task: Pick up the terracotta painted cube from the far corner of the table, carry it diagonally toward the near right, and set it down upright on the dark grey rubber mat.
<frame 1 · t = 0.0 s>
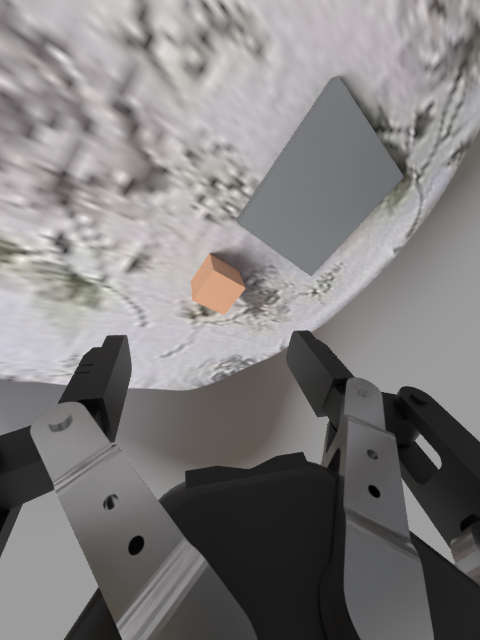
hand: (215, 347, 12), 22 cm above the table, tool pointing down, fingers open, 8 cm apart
mat: (316, 197, 30), on the table
cube: (214, 275, 34), on the table
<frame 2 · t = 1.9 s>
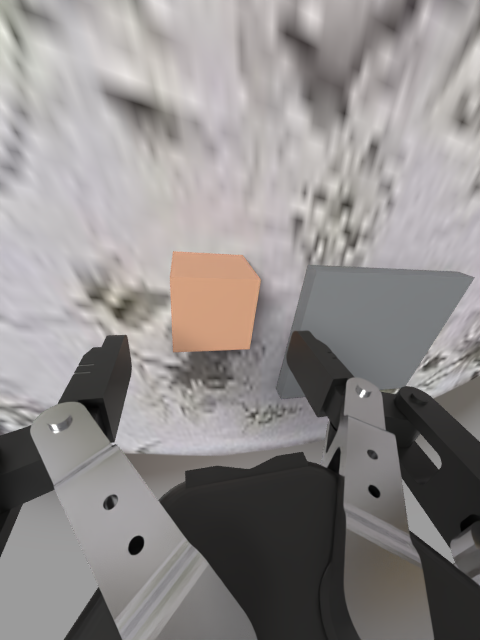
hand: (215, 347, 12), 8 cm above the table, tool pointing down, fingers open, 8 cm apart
mat: (361, 334, 24), on the table
cube: (207, 285, 18), on the table
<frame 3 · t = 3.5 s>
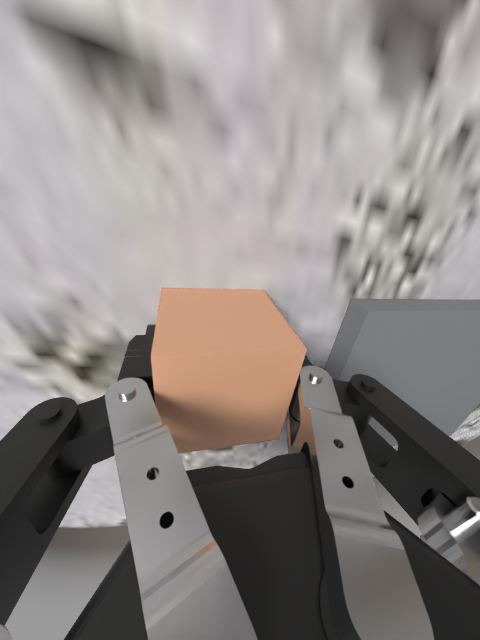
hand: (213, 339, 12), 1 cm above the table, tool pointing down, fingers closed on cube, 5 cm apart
mat: (406, 378, 19), on the table
cube: (212, 331, 13), on the table, touching gripper
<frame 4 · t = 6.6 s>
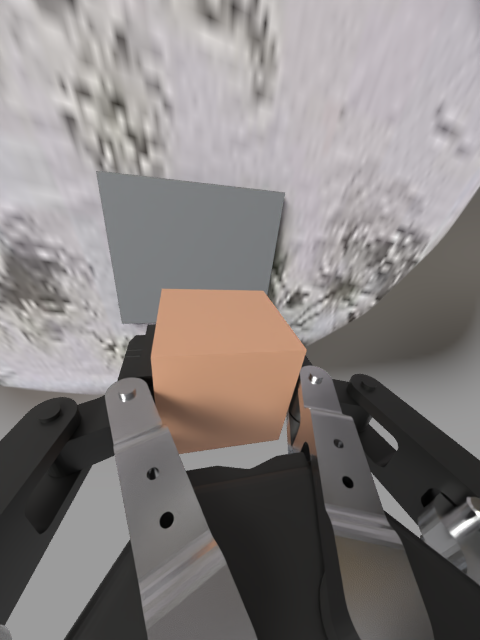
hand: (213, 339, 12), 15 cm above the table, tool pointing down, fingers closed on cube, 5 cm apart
mat: (197, 258, 25), on the table
cube: (212, 332, 13), point 15 cm above the table, touching gripper
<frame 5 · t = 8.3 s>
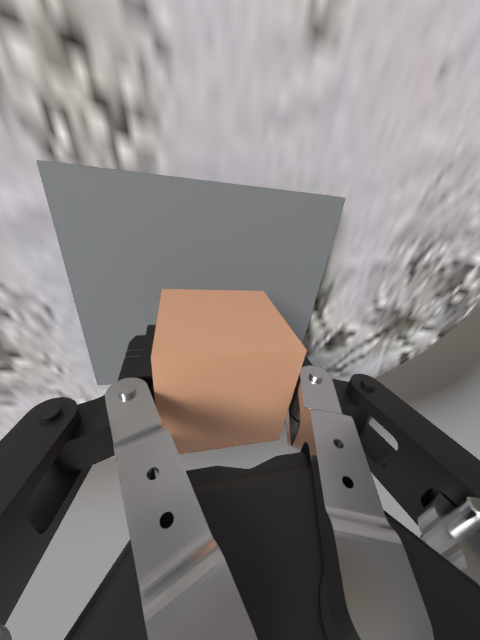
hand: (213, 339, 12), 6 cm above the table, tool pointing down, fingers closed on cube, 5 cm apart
mat: (206, 292, 17), on the table
cube: (212, 332, 13), point 5 cm above the table, touching gripper
when the fingers open (4 cm above the table, at t = 9.6 s): cube drops 2 cm, resting on mat.
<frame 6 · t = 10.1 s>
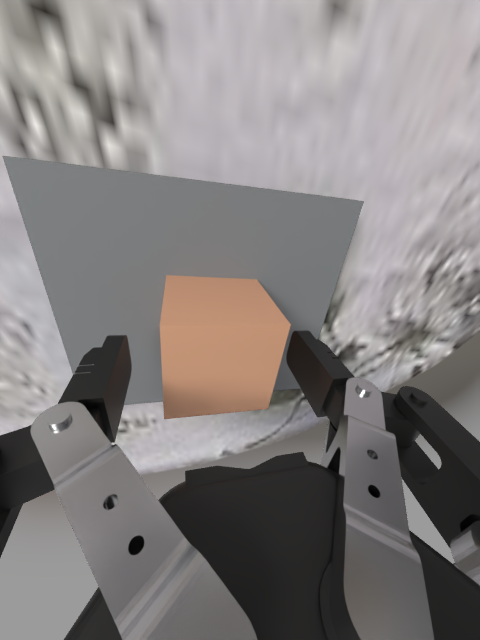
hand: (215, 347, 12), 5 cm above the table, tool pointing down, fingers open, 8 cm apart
mat: (206, 305, 15), on the table
cube: (210, 316, 14), point 1 cm above the table, touching mat
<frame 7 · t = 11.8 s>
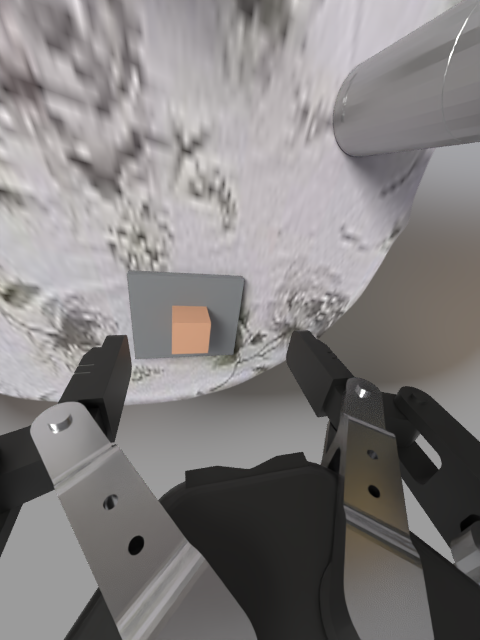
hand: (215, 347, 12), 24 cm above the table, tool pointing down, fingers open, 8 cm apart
mat: (187, 315, 37), on the table
cube: (188, 320, 36), point 1 cm above the table, touching mat
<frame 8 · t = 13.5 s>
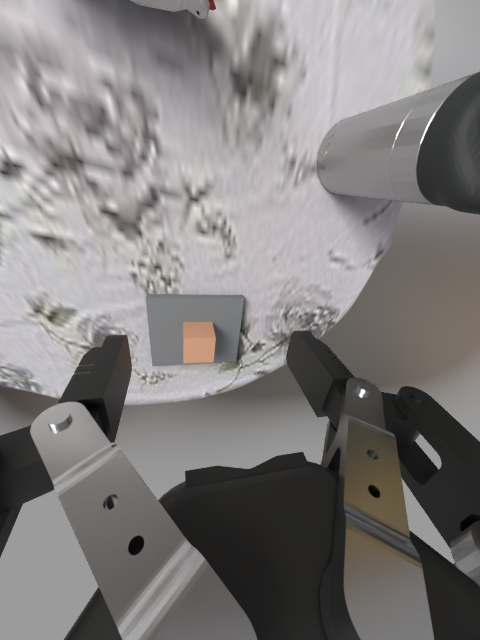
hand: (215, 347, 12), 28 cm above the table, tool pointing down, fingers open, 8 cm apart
mat: (196, 329, 44), on the table
cube: (197, 333, 43), point 1 cm above the table, touching mat
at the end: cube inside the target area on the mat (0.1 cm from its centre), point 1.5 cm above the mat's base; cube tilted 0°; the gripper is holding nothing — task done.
